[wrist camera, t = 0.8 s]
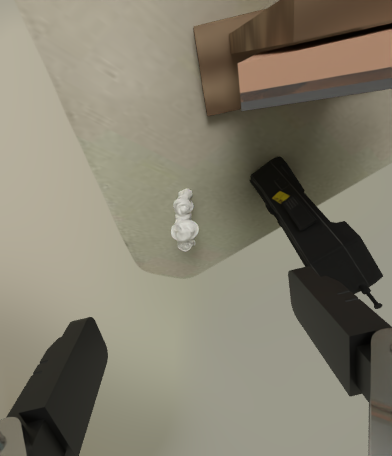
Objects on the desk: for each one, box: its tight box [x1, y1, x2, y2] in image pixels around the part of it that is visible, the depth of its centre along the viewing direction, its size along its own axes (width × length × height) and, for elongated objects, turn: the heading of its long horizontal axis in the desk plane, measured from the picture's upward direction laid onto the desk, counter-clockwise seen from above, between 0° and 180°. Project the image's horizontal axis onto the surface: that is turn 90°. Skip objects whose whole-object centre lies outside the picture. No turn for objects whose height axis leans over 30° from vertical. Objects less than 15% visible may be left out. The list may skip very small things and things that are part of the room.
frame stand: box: [194, 0, 392, 116], centre depth 23 cm, size 10×24×24 cm, turn 101°
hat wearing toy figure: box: [171, 188, 199, 252], centre depth 39 cm, size 9×4×12 cm, turn 2°
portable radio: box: [250, 157, 383, 309], centre depth 32 cm, size 8×6×25 cm
